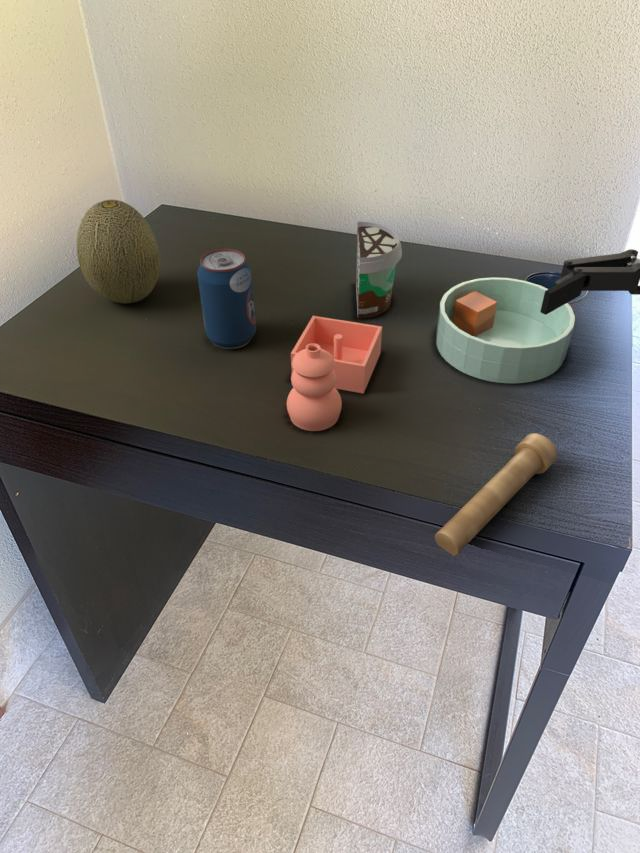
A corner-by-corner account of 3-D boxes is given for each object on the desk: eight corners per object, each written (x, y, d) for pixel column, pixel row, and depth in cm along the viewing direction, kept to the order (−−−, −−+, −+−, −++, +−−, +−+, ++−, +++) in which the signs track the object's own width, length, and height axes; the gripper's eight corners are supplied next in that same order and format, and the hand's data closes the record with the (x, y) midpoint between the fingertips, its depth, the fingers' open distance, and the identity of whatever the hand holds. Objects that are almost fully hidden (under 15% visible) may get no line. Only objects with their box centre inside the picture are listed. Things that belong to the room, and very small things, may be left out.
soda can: (265, 342, 94) (259, 263, 86) (218, 357, 91) (207, 277, 83) (244, 319, 98) (236, 241, 90) (199, 332, 96) (187, 254, 88)
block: (493, 327, 95) (497, 302, 93) (473, 337, 93) (478, 312, 91) (471, 315, 98) (475, 290, 95) (452, 325, 96) (455, 300, 93)
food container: (401, 324, 97) (406, 259, 90) (358, 324, 97) (360, 260, 90) (395, 280, 106) (399, 219, 100) (355, 280, 106) (357, 219, 100)
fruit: (97, 325, 98) (71, 226, 88) (83, 288, 105) (58, 194, 95) (175, 307, 101) (158, 210, 91) (156, 273, 109) (139, 180, 99)
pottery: (313, 341, 94) (312, 277, 87) (380, 353, 92) (384, 288, 85) (267, 424, 81) (261, 356, 75) (344, 439, 79) (345, 371, 72)
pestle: (561, 465, 73) (468, 564, 65) (530, 462, 77) (438, 556, 68) (551, 434, 72) (454, 531, 64) (519, 432, 75) (424, 524, 67)
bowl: (591, 349, 92) (602, 314, 88) (509, 401, 84) (517, 365, 80) (491, 298, 102) (497, 265, 98) (409, 340, 94) (413, 305, 90)
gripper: (796, 336, 77) (700, 415, 67) (602, 257, 91) (499, 311, 81) (829, 277, 72) (730, 351, 62) (617, 202, 86) (510, 253, 76)
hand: (598, 329), depth 71 cm, fingers open, 13 cm apart
